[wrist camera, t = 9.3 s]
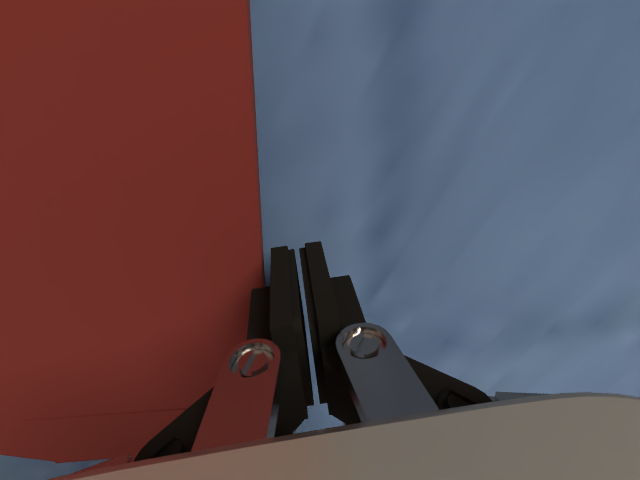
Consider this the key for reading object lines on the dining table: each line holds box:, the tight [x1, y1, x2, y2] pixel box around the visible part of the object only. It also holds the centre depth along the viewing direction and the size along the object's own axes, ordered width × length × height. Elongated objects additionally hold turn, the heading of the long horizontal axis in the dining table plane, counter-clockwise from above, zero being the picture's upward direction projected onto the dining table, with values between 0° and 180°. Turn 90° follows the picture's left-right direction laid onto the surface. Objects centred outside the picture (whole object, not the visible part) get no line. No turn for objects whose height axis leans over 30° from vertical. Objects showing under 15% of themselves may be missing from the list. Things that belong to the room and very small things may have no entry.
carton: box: [0, 0, 265, 463], centre depth 11 cm, size 12×5×25 cm
